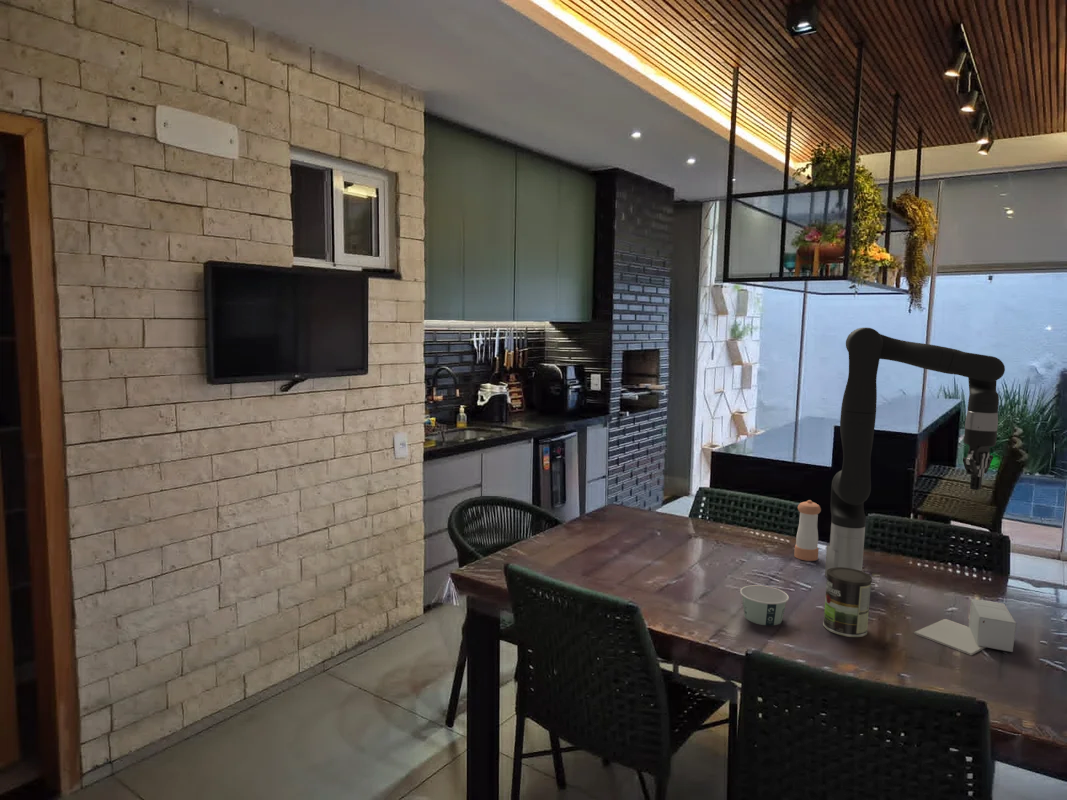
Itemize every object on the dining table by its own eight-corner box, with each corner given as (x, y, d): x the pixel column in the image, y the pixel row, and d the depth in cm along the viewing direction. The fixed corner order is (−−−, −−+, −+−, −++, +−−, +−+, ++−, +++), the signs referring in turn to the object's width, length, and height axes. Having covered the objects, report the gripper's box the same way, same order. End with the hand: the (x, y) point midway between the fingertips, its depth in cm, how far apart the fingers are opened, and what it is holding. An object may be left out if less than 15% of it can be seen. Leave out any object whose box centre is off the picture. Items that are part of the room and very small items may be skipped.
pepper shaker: (821, 561, 222) (825, 503, 220) (798, 560, 222) (802, 502, 220) (812, 553, 229) (816, 497, 227) (791, 553, 229) (794, 497, 227)
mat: (971, 655, 159) (971, 653, 159) (914, 633, 170) (914, 631, 169) (1000, 640, 167) (1000, 638, 167) (944, 620, 178) (945, 618, 178)
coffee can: (836, 638, 166) (840, 582, 165) (815, 620, 177) (818, 567, 175) (876, 637, 167) (881, 581, 166) (853, 619, 177) (857, 566, 176)
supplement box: (967, 625, 174) (976, 646, 162) (971, 597, 173) (979, 616, 161) (1002, 632, 171) (1013, 653, 159) (1005, 603, 170) (1017, 622, 158)
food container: (733, 607, 183) (734, 584, 183) (778, 609, 183) (780, 585, 182) (745, 627, 172) (747, 602, 171) (794, 628, 171) (795, 603, 170)
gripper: (984, 431, 183) (978, 495, 185) (1007, 428, 190) (1001, 489, 192) (954, 427, 189) (949, 489, 191) (977, 424, 196) (972, 484, 198)
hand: (975, 489), depth 191 cm, fingers closed
